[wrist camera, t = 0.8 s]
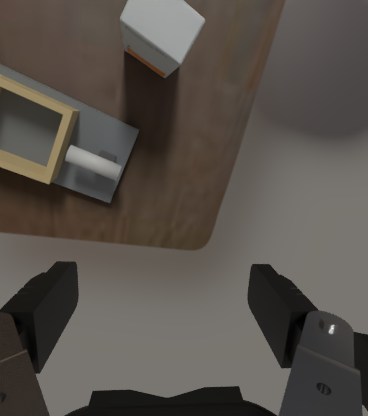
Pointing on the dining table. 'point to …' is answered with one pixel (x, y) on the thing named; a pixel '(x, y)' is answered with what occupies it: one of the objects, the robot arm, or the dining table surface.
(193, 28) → the skincare box
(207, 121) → the dining table surface
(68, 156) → the stand
